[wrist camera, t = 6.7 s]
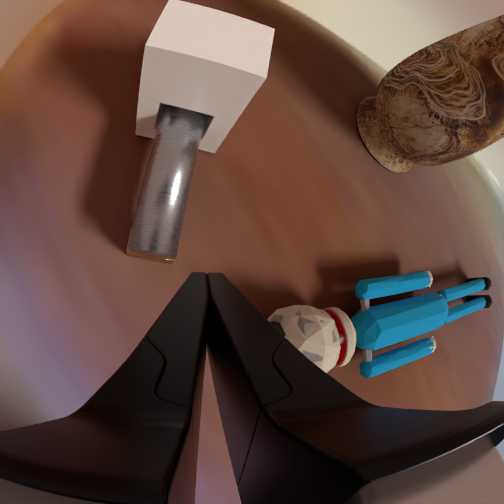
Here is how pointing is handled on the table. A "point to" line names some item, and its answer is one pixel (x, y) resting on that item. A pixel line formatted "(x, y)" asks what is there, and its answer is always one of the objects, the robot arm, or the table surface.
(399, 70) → the vase
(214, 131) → the white block
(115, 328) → the table surface
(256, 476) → the robot arm
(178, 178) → the metal cylinder
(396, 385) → the table surface
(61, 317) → the table surface
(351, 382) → the table surface
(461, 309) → the toy
